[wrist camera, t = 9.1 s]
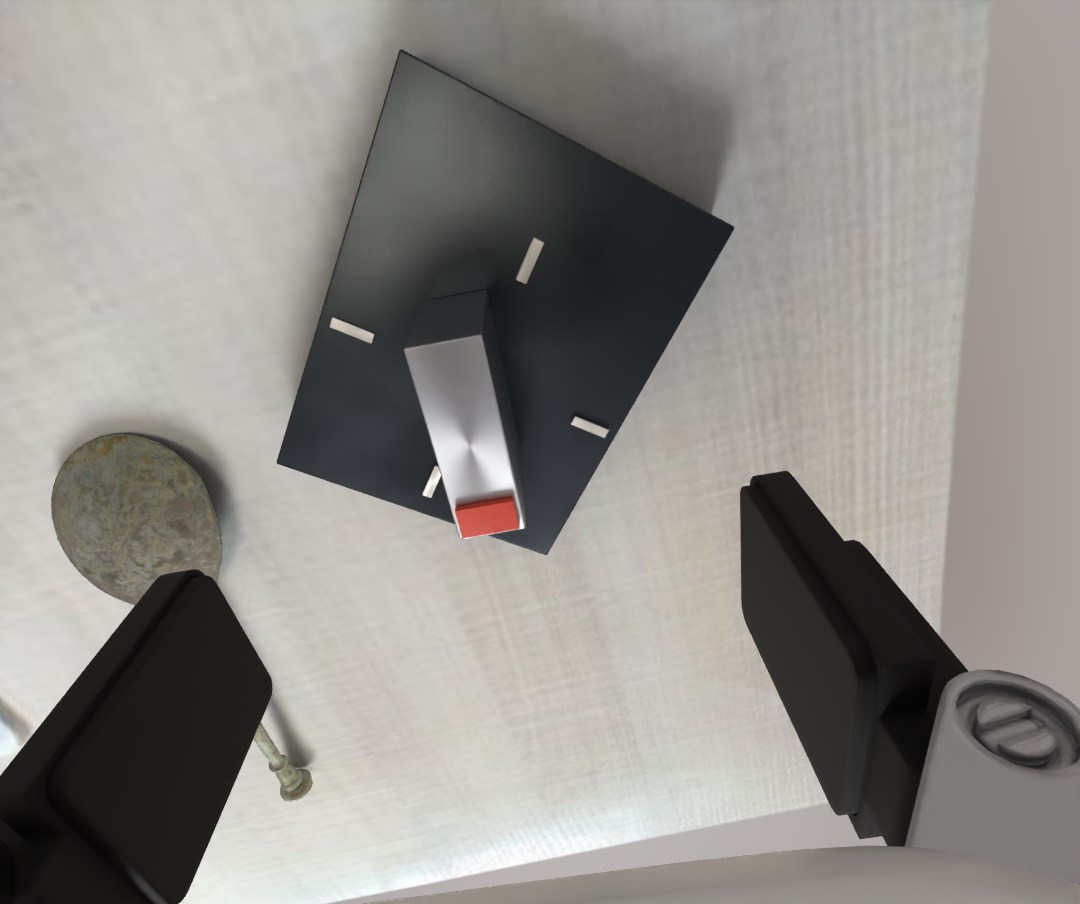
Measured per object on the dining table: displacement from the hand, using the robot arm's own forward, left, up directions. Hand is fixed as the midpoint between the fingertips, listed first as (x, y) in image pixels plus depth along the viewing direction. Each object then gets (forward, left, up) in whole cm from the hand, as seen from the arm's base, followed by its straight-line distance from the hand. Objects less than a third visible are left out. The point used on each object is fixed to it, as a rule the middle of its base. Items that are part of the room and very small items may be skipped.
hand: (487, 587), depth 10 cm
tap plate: (0, 0, -14) cm, 14 cm away
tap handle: (+1, 0, -11) cm, 11 cm away
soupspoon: (+19, -6, -14) cm, 24 cm away
